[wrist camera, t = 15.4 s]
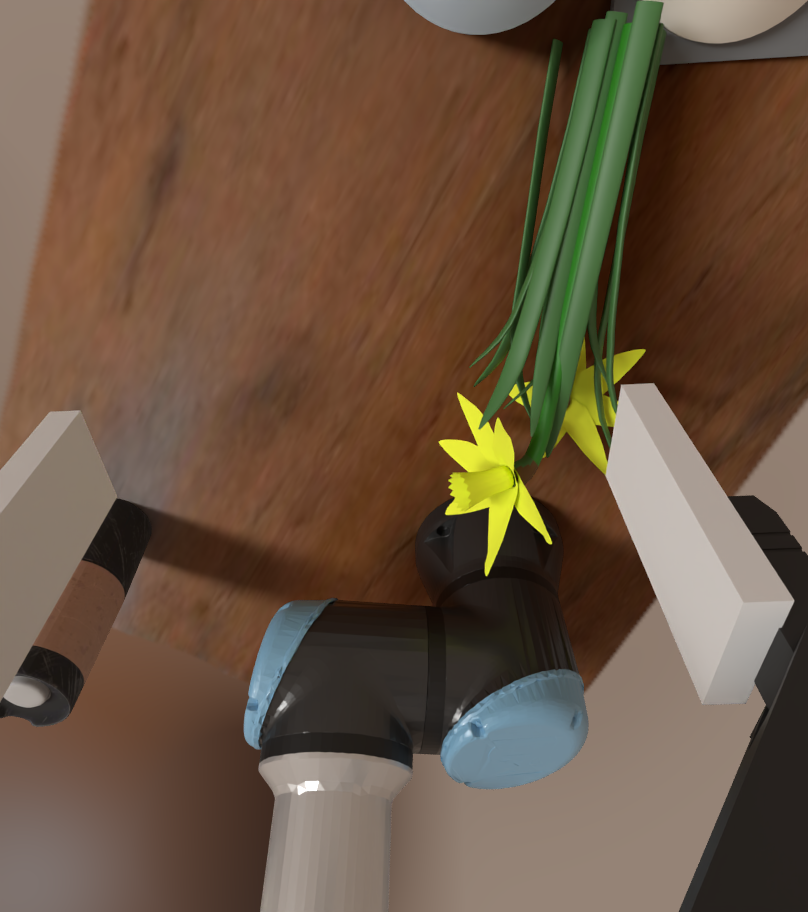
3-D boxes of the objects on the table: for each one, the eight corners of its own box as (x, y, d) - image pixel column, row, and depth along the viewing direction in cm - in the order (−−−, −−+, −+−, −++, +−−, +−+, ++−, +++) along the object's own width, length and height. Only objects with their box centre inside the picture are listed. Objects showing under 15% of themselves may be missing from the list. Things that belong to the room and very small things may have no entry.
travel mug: (126, 486, 61) (28, 662, 45) (169, 540, 65) (93, 717, 49) (61, 506, 63) (-57, 682, 47) (107, 557, 67) (13, 735, 51)
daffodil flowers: (773, 57, 40) (629, 530, 54) (554, 52, 46) (474, 477, 60) (769, -43, 26) (576, 629, 40) (457, -31, 32) (381, 547, 46)
